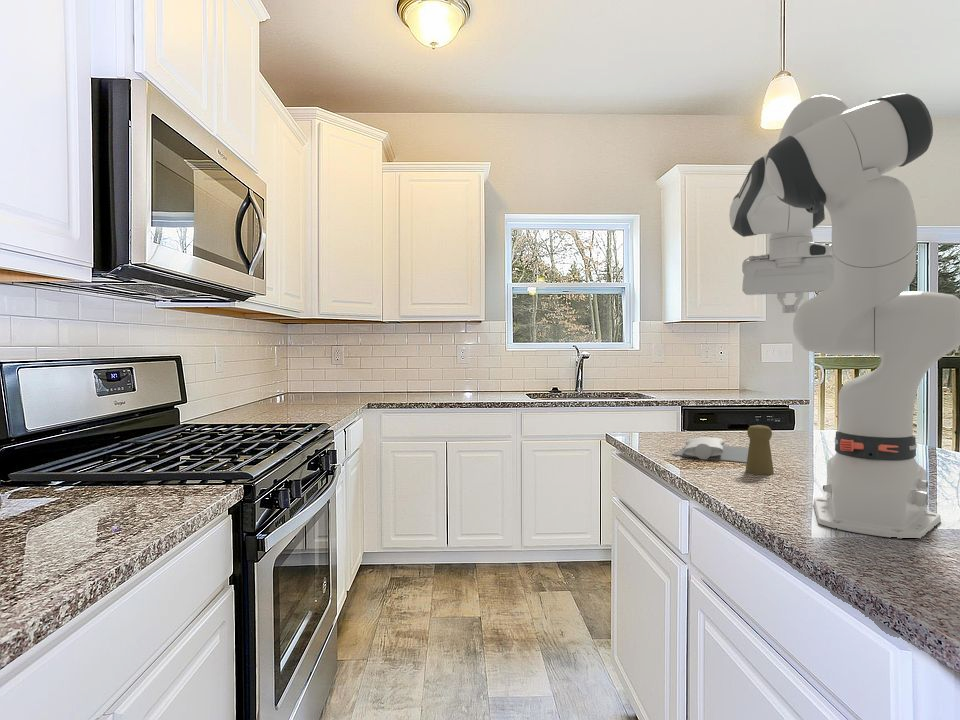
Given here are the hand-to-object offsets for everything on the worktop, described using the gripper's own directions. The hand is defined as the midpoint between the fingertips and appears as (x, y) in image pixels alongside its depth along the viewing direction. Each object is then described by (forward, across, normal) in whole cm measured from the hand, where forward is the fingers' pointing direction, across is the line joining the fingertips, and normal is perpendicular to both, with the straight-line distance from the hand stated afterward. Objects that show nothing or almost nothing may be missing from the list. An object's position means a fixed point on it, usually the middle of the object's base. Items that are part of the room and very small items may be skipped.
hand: (790, 312), depth 137 cm
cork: (+37, -6, -2) cm, 38 cm away
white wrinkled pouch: (+35, -21, +6) cm, 41 cm away
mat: (+37, -20, +18) cm, 46 cm away
